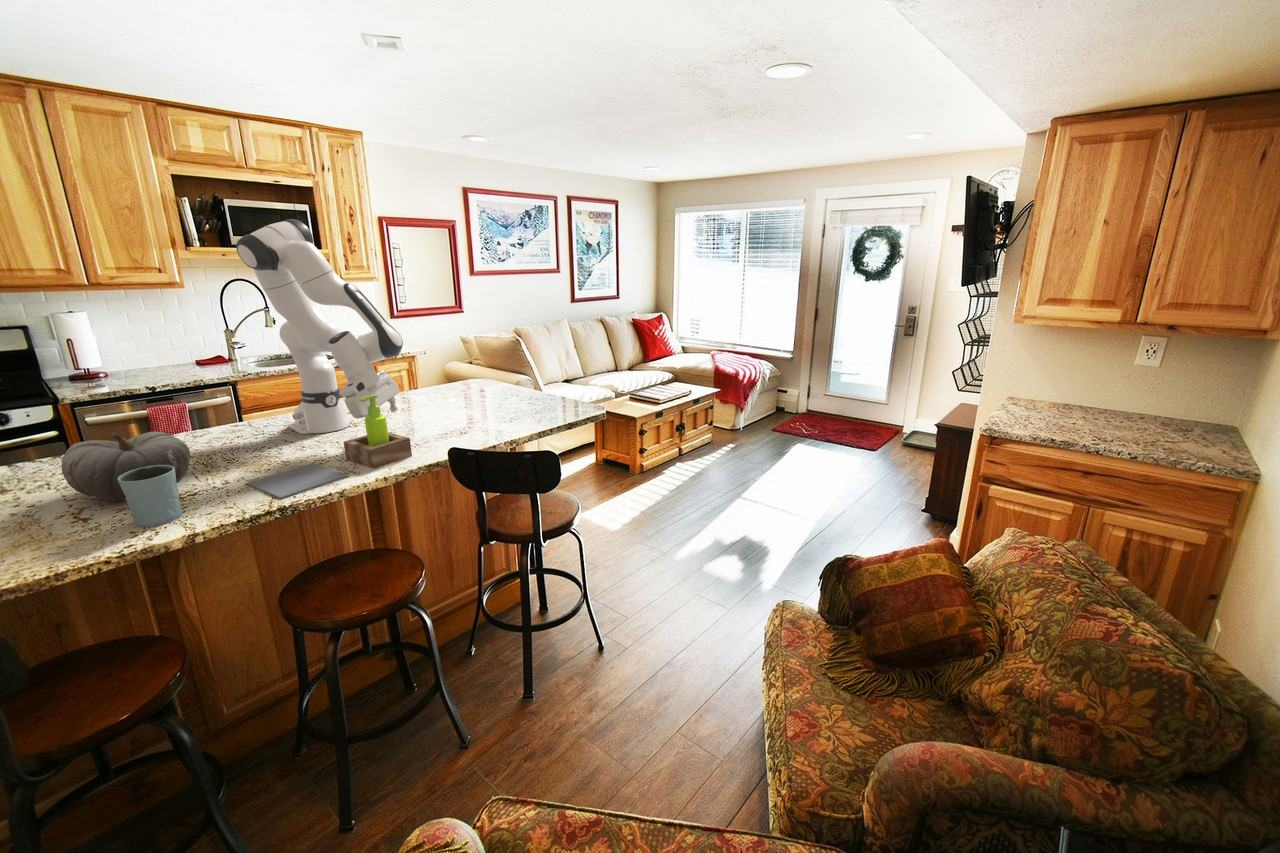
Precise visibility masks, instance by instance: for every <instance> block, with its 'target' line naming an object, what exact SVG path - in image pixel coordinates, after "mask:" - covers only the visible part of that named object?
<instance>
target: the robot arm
mask: <svg viewBox="0 0 1280 853" xmlns="http://www.w3.org/2000/svg"><path fill="white" fill-rule="evenodd" d="M235 249H236V252H237V255H238V257H239V258H240V260H241V262H243V264H244V265H246V266H247V267H248V268H250V269H253V271H254V273H255V276H256V278H257V280H258V282H259V284H260V286H261V288H262V290H263V291H264V293H265V295H266V297H267V298H268V300H269V302H270V303H271V305H272V306H273V308H274V310H275V311H276V313H278V314H279V315H280V316H282V317H283V318H284V319H285V320H286V321H285V322H284V323H282V325H281V326H280V329H279V338H280V340H281V341H282V342H283V344H284V345H285V346H286V347H287V349H288V351H289V352H290V355H291V358H292V359H293V361H294V364H295V366H296V368H297V371H298V374H299V380H300V381H299V382H300V385H301V391H299V393H300V399H301V402H300V403H299V404H298V406H296V408H295V409H294V410H293V413H292V415H291V416H292V419H293V420H294V421H292V422H289V423H288V425H287V426H288V427H289V428H290V429H292V430H294V431H295V432H296V433H298V434H299V435H308V434H323V433H332V432H335V431H340V430H343V429H346V428H347V427H349V426H350V423H352V422H353V419H352V418H350V417H349V414H348V412H350V414H351V416H352V417H353V418H354V419H356V420H358V419H361V418H366V417H368V416H369V415H368V408H367V407H368V406H369V405H370V401H369V399H367V400H365V401H360V400H358V399H360V398H362V397H364V396H368V395H378V397H377V398H375V399H376V404H377V405H379V406H380V407H381V406H382V405H383V404H385V403H386V402H387V403H389V405H390V407H389V410H390V412H391V413H395V412H397V411H398V409H399V408H398V406H396V398H395V396H397V395H398V394H399V393H400V387H399V386H398V384H397V383H396V381H395V380H394V378H392V377H391V376H390V375H389V373H388V372H387V371H385V370H380V371H378V372H377V371H376V370H375V368H374V366H373V365H372V364H373V363H377V362H380V361H383V360H385V359H391V358H393V357H397V356H399V355H400V353H401V352H402V349H403V345H404V340H403V338H402V336H401V334H400V333H399V331H397V330H396V328H394V327H393V326H392V325H391V324H389V322H387V320H386V319H385V318H384V316H382V314H381V313H380V311H378V310H377V308H376V307H375V306H374V304H372V302H371V301H370V300H369V299H368V298H367V297H366V295H365V294H364V293H363V292H362V291H361V290H360V288H358V286H356V285H355V284H353V283H348V282H346V281H345V280H343V279H342V278H341V277H340V276H339V275H338V274H337V273H336V271H335V270H334V268H333V267H332V266H331V264H330V262H329V261H328V260H327V259H326V257H325V256H324V255H323V254H322V253H321V251H320V250H319V249H318V248H317V246H315V245H314V237H313V234H312V232H311V230H310V229H309V227H308V226H307V225H306V224H305V223H303V222H302V221H301V220H299V219H295V218H291V219H284V220H282V221H279V222H274V223H271V224H268V225H264V226H263V227H261V228H259V229H257V230H255V231H252V232H251V233H246V234H244V235H243V236H242V237H240V238H239V239H238V240H237V241H236V248H235ZM315 303H316V304H319V305H322V306H338V307H339V306H341V307H345V308H346V307H347V308H350V309H352V310H353V311H355V312H356V313H357V314H358V315H359V316H360V317H361V319H362V320H363V321H364V322H365V323H366V325H367V326H368V327H369V328H370V329H371V330H372V331H370V332H367V333H364V334H361V335H354V334H353V333H352V332H351V331H349V330H344V331H341V330H340V328H339V327H337V325H334V323H333V322H331V321H330V320H329V318H327V316H325V314H324V313H323V312H322V311H321V310H320V309H319V307H318V306H317V305H316V304H315ZM327 353H331V355H332V358H334V361H335V363H336V364H337V366H338V368H340V370H342V372H343V373H344V377H345V379H346V383H345V384H344V386H343V388H342V389H341V390H340V388H339V387H338V382H337V375H336V369H335V367H334V365H333V363H332V362H331V361H330V360H329V358H328V356H327V355H326V354H327ZM341 397H342V398H344V400H343V399H341ZM347 409H348V410H347Z"/></svg>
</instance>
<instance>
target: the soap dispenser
mask: <svg viewBox="0 0 1280 853" xmlns="http://www.w3.org/2000/svg"><path fill="white" fill-rule="evenodd" d="M377 397H378V395H368V396H364V397H362V398H360V399H358V400H360V401H365V400H367V399H369V401H370V405H369V406H368V407H367V408H368V415H369V416H368V417H364V423H365V424H364V425H365V430H366V431H365V432H366V435H367V438H368V445H369V446H372V447H374V446H378V445H381V444H384V443H387V442H389V436H388V432H389V431H388V425H387V424H388V423H387V416H386V415H384V414H381V413H382V412H381V408H380V407H381V406H379V405H377V404H376V399H375V398H377Z"/></svg>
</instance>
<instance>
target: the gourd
mask: <svg viewBox="0 0 1280 853" xmlns="http://www.w3.org/2000/svg"><path fill="white" fill-rule="evenodd" d="M111 437H112V438H113V439H114V440H116V441H114V440H105V439H104V440H103V439H102V440H94V439H93V440H86V441H80V442H76V443H73V444H72V445H71V446H69V447H68V449H67V450H66V452H65V453H64V454H63V456H62V458H61V473H62V475H63V477H64V479H65V481H66V482H67V484H68V485H69V487H71V488H72V489H74V490H75V491H76V492H77V493H79V494H82V495H85V496H87V497H91V498H96V499H99V500H105V501H111V502H117V501H122V500H127V499H126V496H125V495H124V492H123V490H122V489H121V486H120V484H119V482H118V477H119V476H120V475H122V474H124V473H126V472H128V471H131V470H134V469H138V468H142V467H147V466H154V465H171V466H173V467H174V468H175V474H176V483H177V484H178V483H179V482H181V481H182V480H183V478H184V477H185V476H186V474H187V473H188V471H189V468H190V465H191V464H190V462H191V461H190V460H191V451H190V448H189V447H188V445H187V443H185V442H184V441H183V440H181V439H179V438H177V437H176V436H173V435H172V434H170V433H167V432H163V431H149V432H144V433H141V434H139V435H135V436H132V437H131V438H129V439H126V438H124V437H123V436H121V435H120V434H119V432H113V433H111Z"/></svg>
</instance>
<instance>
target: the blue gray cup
mask: <svg viewBox="0 0 1280 853" xmlns="http://www.w3.org/2000/svg"><path fill="white" fill-rule="evenodd" d="M118 482H119V484H120V486H121V489H122V490H123V492H124V495H125V496H126V499H125V500H126V503H127V504H128V507H129V510H130V513H131V515H132V518H133V520H134V522H135V524H136V525H137V526H138V527H140V528H141V527H142V528H151V527H156V526H163V525H165V524H168V523H172V522H173V521H176V520H178V519H180V518H181V517H182V516H183V509H182V505H181V501H180V495H179V488H178V483H176V474H175V468H174V467H173V466H171V465H154V466H147V467H142V468H138V469H134V470H131V471H128V472H126V473H124V474H122V475H120V476H119V477H118Z"/></svg>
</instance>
